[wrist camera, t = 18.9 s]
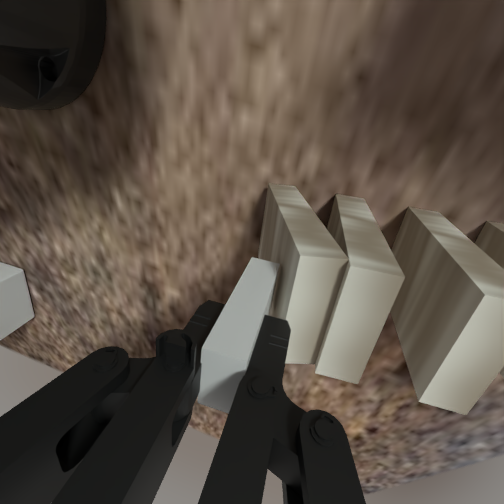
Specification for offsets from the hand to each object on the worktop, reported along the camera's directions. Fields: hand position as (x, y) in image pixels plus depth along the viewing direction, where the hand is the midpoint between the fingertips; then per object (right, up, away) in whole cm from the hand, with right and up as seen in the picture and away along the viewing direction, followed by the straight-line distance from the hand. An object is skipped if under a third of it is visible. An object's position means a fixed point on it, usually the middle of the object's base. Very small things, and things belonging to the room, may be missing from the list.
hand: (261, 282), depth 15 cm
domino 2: (+6, +3, +7) cm, 10 cm away
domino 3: (+11, +2, +6) cm, 13 cm away
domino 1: (+1, +4, +7) cm, 8 cm away
